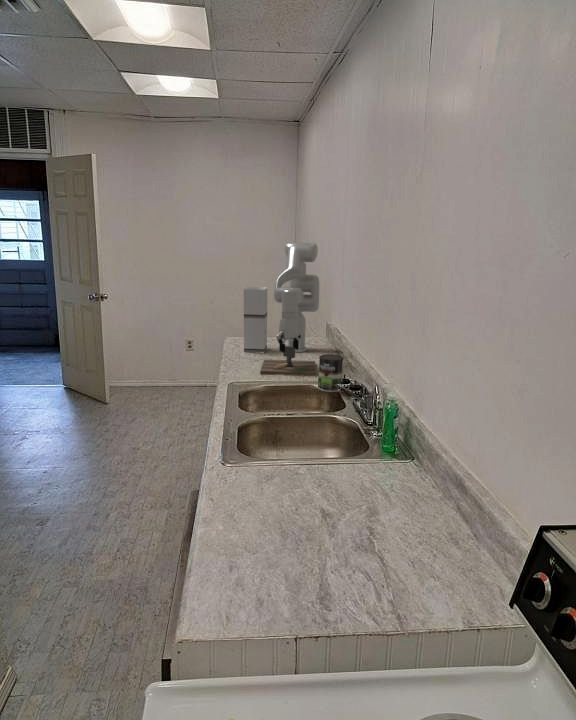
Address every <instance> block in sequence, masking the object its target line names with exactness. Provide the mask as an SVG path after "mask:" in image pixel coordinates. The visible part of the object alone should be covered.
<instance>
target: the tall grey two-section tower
mask: <svg viewBox="0 0 576 720" xmlns="http://www.w3.org/2000/svg"><path fill="white" fill-rule="evenodd" d="M266 349H268V287H266V286H247V287H246V288H243V352H244V353H255V352H265V353H266V351H267V350H266ZM265 350H266V351H265Z"/></svg>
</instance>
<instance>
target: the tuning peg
mask: <svg viewBox="0 0 576 720" xmlns="http://www.w3.org/2000/svg"><path fill="white" fill-rule="evenodd" d="M282 356H283V357H286V359H285V360H286V363H285V364H281V365H277V366H276V368H281V367H284V366H293V363H291V360H292V359H295V358H296V352H295V347H290V346H288V345H285V352H282Z"/></svg>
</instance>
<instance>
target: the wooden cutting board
mask: <svg viewBox="0 0 576 720" xmlns="http://www.w3.org/2000/svg"><path fill="white" fill-rule="evenodd" d="M286 360H287V359H264V360H263V362H262V365H261V367H260V375H274V374H285V376H313V377H314V376H316V373H317V372H316V369H317V368H316V360H297V359H295V360H292V359H291V363H293V366H284V367H281V368H276V366H277V365H281V364H285V363H286ZM316 377H317V376H316Z"/></svg>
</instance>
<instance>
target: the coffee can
mask: <svg viewBox="0 0 576 720" xmlns="http://www.w3.org/2000/svg"><path fill="white" fill-rule="evenodd" d="M318 357H319V361H318V362H319V368H318V386H317V387H318V390H319V391H321V392H325V393H337V392H340V391H339V390H338V389H337V387H336V386H335V385H334V384H340V383H341V382H342V383H343V373H344V360H345V359H344V358H345V357H344V356H342V355H338V354H335V353H334V354H331V353H329V354H327V353H326V354H322V355H320V356H318Z"/></svg>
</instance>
